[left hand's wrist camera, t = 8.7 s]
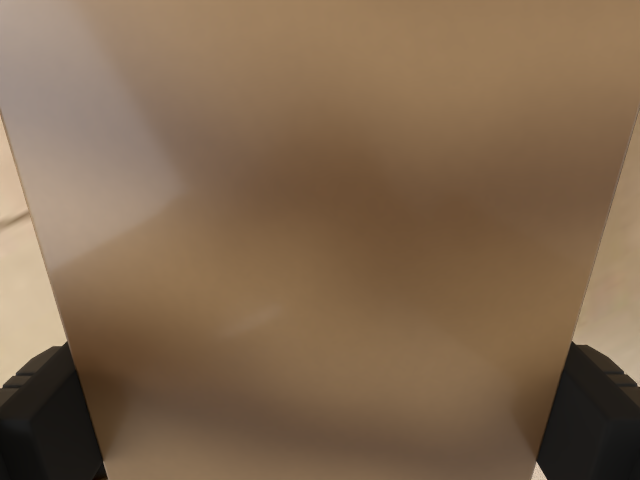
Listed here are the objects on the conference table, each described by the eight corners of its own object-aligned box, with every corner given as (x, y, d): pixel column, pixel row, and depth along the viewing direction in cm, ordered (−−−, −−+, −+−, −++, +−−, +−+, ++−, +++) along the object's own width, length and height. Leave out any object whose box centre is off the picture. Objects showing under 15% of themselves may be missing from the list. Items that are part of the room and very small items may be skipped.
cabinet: (159, -207, 13) (-383, -1154, 3) (478, -207, 13) (1012, -1150, 3) (218, 302, 20) (120, 524, 10) (421, 302, 20) (519, 523, 10)
